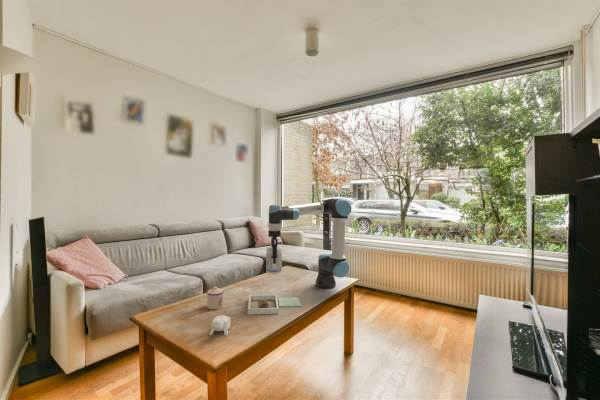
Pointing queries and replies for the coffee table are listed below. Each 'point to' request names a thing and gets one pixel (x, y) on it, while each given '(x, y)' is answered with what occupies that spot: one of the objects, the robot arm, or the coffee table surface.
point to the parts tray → (263, 310)
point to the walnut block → (263, 304)
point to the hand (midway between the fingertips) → (273, 266)
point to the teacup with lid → (215, 298)
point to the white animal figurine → (221, 324)
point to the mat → (289, 302)
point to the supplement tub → (269, 261)
